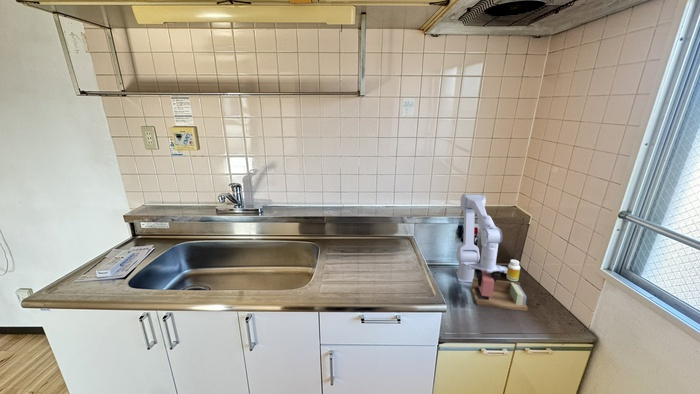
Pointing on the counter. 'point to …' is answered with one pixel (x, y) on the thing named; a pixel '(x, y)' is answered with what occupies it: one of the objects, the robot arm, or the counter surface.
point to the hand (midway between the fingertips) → (485, 285)
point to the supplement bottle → (513, 270)
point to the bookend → (481, 295)
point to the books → (517, 294)
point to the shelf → (498, 296)
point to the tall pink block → (486, 284)
